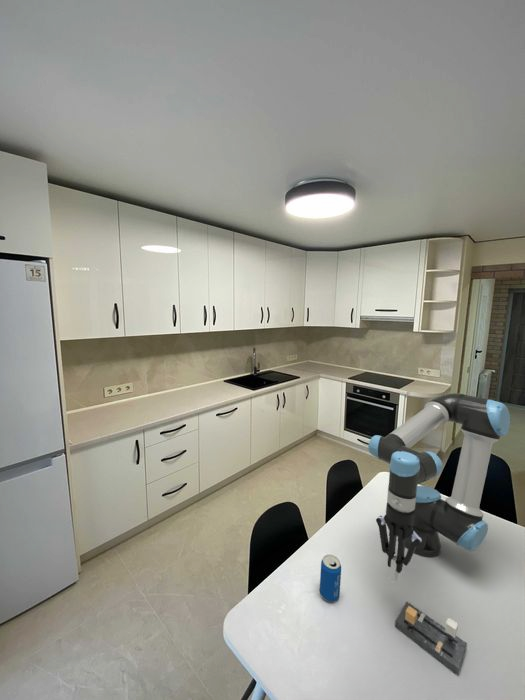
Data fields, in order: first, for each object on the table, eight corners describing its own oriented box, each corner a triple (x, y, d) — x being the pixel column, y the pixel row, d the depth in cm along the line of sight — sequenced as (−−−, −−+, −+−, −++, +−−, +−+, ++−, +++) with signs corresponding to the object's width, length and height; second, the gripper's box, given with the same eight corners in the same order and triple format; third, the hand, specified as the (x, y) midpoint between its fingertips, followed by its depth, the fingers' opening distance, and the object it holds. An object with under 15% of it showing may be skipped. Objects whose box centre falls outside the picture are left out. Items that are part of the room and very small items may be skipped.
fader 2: (444, 636, 82) (445, 623, 81) (446, 630, 83) (448, 617, 83) (454, 643, 80) (455, 629, 80) (456, 637, 82) (458, 623, 81)
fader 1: (404, 624, 85) (405, 610, 84) (407, 618, 86) (408, 605, 86) (413, 630, 83) (414, 617, 83) (416, 625, 85) (417, 611, 84)
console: (394, 626, 86) (395, 620, 86) (406, 607, 92) (406, 601, 92) (457, 675, 75) (458, 668, 74) (466, 649, 81) (466, 642, 81)
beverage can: (328, 607, 91) (330, 572, 90) (315, 590, 97) (317, 557, 96) (343, 598, 94) (345, 565, 93) (330, 582, 100) (332, 550, 99)
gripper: (373, 499, 87) (367, 571, 90) (419, 522, 78) (411, 602, 80) (384, 490, 93) (378, 558, 95) (429, 511, 83) (421, 586, 85)
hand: (393, 578), depth 88 cm, fingers closed
